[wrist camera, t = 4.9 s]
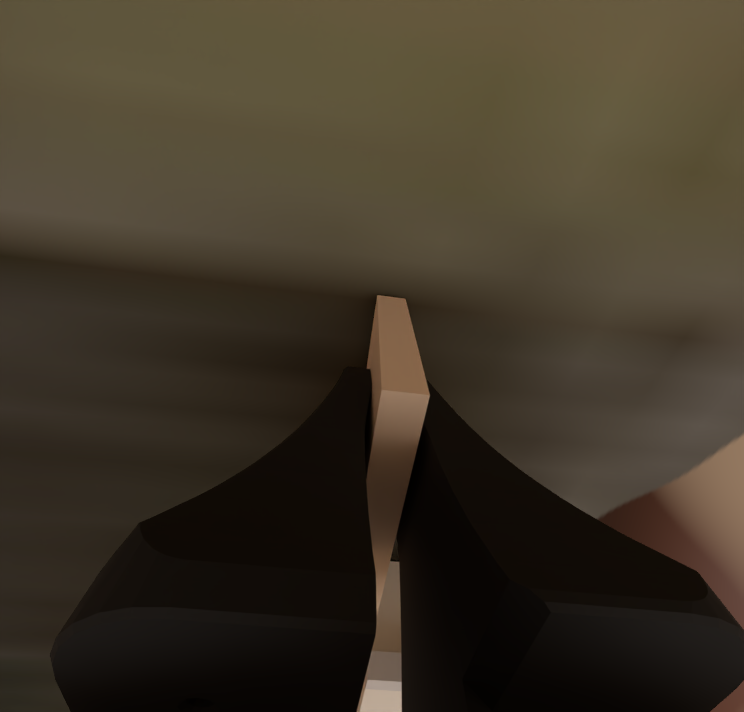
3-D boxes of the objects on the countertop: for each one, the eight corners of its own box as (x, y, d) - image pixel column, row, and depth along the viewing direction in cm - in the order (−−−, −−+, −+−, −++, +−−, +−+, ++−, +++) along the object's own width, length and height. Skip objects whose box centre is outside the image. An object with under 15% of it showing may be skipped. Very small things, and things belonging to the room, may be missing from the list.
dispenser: (458, 675, 21) (479, 799, 17) (196, 658, 20) (151, 784, 16) (511, 562, 16) (556, 692, 12) (178, 533, 15) (111, 663, 11)
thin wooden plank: (351, 597, 17) (344, 752, 12) (333, 595, 17) (319, 750, 12) (405, 298, 11) (429, 395, 6) (377, 295, 11) (381, 389, 6)
